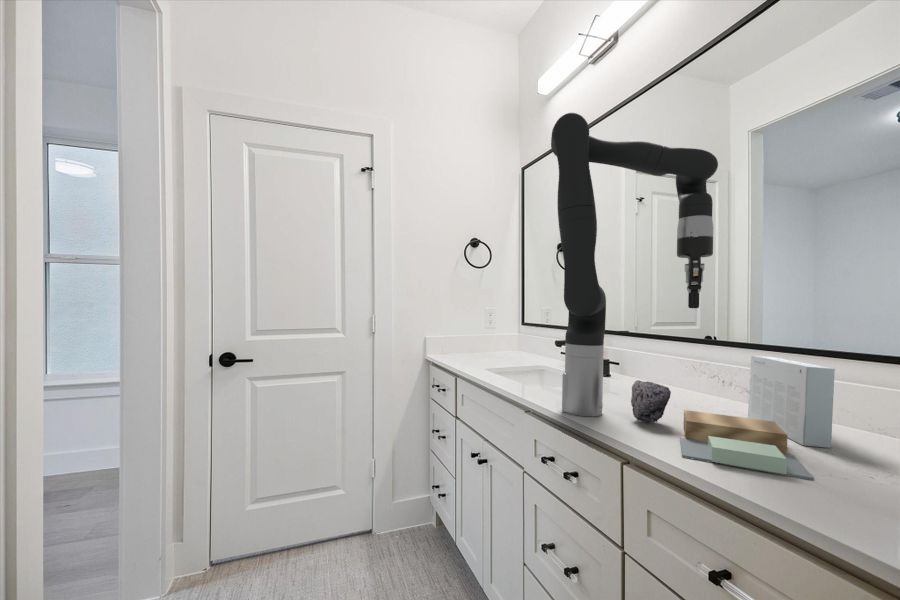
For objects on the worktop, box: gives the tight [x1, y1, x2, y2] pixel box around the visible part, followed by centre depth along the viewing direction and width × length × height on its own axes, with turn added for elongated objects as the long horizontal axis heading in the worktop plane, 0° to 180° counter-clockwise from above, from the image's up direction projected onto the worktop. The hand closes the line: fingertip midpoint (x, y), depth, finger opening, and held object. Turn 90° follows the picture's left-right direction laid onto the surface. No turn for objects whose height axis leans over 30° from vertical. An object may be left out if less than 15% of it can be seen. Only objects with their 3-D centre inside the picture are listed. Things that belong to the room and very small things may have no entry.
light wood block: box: [683, 409, 788, 455], centre depth 81 cm, size 16×10×4 cm, turn 62°
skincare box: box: [747, 355, 836, 449], centre depth 89 cm, size 21×5×16 cm, turn 168°
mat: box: [679, 437, 815, 481], centre depth 72 cm, size 18×11×1 cm, turn 62°
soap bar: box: [708, 436, 787, 476], centre depth 69 cm, size 10×7×2 cm
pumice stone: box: [630, 380, 672, 424], centre depth 93 cm, size 10×8×10 cm
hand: (693, 308), depth 97 cm, fingers closed
